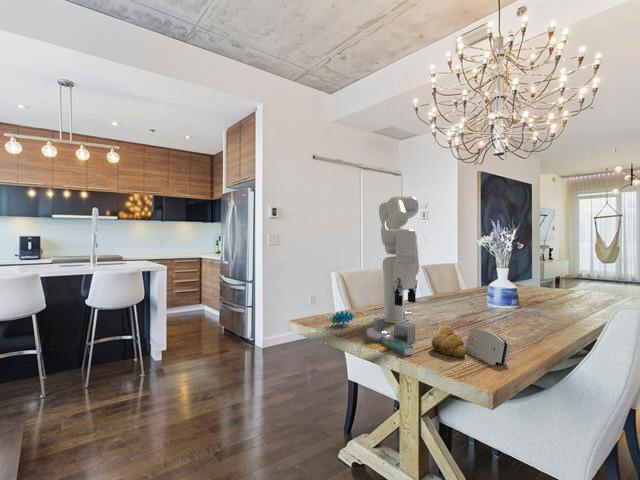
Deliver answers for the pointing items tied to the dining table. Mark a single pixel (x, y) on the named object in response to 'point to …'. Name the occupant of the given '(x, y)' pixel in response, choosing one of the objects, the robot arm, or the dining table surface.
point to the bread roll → (449, 343)
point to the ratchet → (388, 338)
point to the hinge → (487, 346)
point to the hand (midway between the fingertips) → (405, 303)
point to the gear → (341, 318)
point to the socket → (405, 332)
